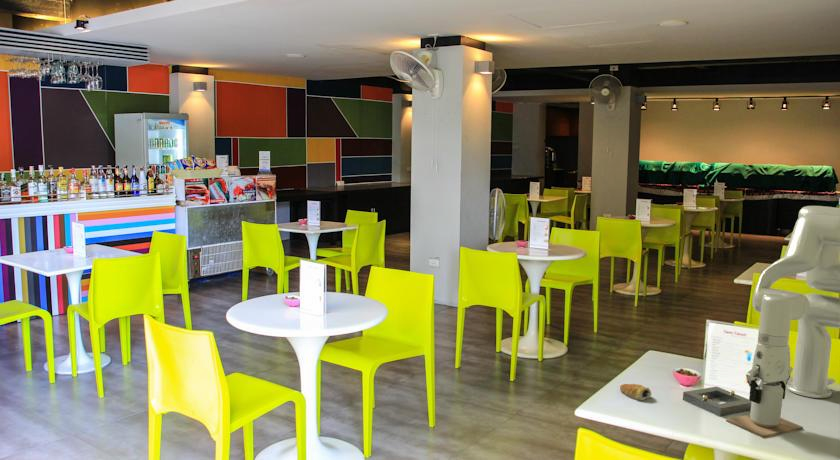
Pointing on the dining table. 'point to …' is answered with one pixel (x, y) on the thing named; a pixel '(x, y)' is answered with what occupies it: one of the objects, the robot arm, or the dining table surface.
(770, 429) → the mat
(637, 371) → the dining table surface
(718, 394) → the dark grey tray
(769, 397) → the can
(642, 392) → the pastry
